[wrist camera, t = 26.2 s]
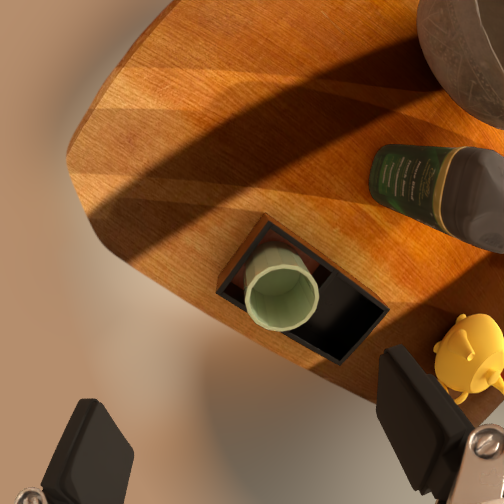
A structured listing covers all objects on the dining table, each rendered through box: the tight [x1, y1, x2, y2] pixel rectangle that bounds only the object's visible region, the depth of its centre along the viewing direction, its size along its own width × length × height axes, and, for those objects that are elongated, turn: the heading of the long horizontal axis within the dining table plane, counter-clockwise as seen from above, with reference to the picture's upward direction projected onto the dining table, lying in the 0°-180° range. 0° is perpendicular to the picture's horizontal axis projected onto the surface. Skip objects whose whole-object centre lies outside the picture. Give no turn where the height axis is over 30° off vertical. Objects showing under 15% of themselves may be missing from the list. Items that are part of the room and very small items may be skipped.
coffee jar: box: [369, 144, 504, 253], centre depth 26 cm, size 10×8×19 cm
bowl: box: [417, 0, 504, 130], centre depth 23 cm, size 21×21×15 cm
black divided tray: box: [216, 213, 390, 366], centre depth 36 cm, size 18×9×5 cm, turn 54°
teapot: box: [433, 314, 504, 405], centre depth 37 cm, size 20×15×12 cm
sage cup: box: [243, 241, 319, 332], centre depth 33 cm, size 7×7×8 cm
